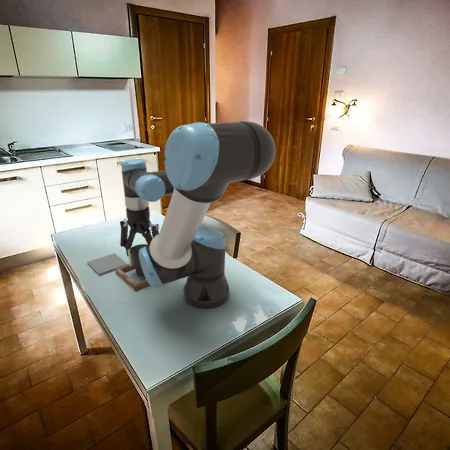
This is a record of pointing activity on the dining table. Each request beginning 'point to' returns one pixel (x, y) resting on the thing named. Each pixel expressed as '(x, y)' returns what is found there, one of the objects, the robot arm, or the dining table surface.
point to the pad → (106, 264)
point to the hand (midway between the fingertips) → (143, 266)
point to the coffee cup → (137, 258)
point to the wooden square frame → (128, 280)
